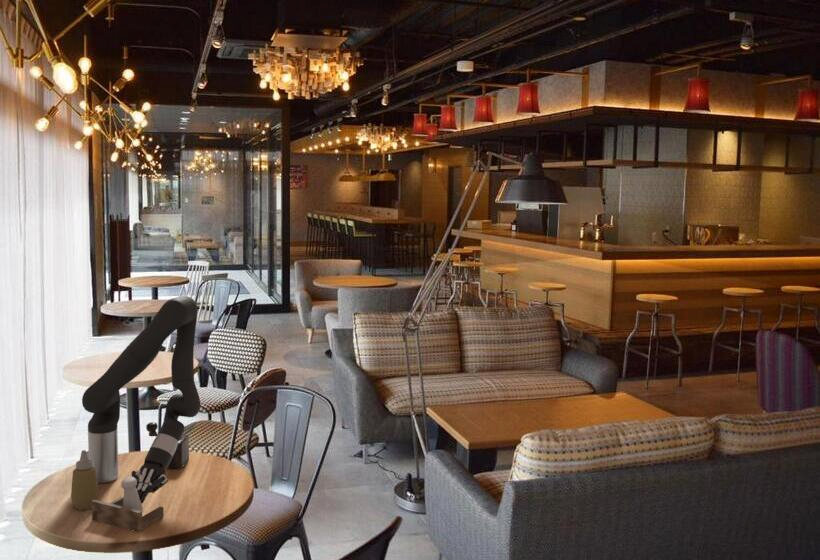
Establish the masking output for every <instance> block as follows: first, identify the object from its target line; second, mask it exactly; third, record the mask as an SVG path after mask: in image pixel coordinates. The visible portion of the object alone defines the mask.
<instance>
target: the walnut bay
mask: <svg viewBox="0 0 820 560" xmlns="http://www.w3.org/2000/svg"><path fill="white" fill-rule="evenodd" d="M123 500H124V496H120V497H118V498H116V499H115V500H113V501H111V502H105V501H102V500H98V499H97V500H93V501H92V508H91V521H93V522H94V521H95V522H97V523H100V524H101V523H102V524H107V525H109V526H114V527H116V526H117V527H118V528H121V529H124V530H128V529H129V530H128V531H132V530H134V531H133V532H135V531H137V532H136V533H139V532H140V533H141V532H143V529H145V528H146V526H147V527H149V526H150V525H151V524H154V523H155V522H157V521H158V520H160V519H162V518H163V517H164V506H162V505H161V506H158V507H157V508H155V509H153V510H152V511H150V512H148V513H146V514H144V515H143V511H139V510H135V509H131V508H127V507H123Z"/></svg>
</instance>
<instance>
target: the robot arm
mask: <svg viewBox="0 0 820 560" xmlns="http://www.w3.org/2000/svg"><path fill="white" fill-rule="evenodd" d="M197 322H198V305H197V302H196V301H195V300H194V299H193V298H192V297H191V296H188V295H181V296H177V297H174V298H169V300H167V301H166V302H164V303H163V305H161V307H160V308H159V310H158V311H157V312H156V314H155V315H154V316H153V319H152V320H151V321H150V322H149V324H148V325H147V326H146V327H145V328H144V329H143V330H142V331H141V332H140V333H139V334H137V336H136V337H135V338H134V339H133V340H132V341H131V342H130V343H129V344H128V345H127V346H126V347H125V349H123V351H122V352H121V353H120V354H119V355H118V357H117V358H116V359H115V360H114V362H112V364H111V365H110V366H109V367H108V369H107V370H106V371H105V372H104V373H103V375H101V376H100V377H99V378H98V379H97V380H96V381H95V382H93V383H92V384H91V385H89V387H87V389H85V391H84V393H83V394H82V399H81V404H82V407H83V409H84V410H85V411H86V412H88V413H90V414H93V415H92V416H91V418H90V420H89V421H88V422H87V441H88V442H87V445H88V446H87V447H88V450H87V451H86V453H87V457H88V460H91V461H92V467H94V468H95V470H96V477H97V484H105V483H109V482H113V481H115V480H117V479H118V478H119V447H118V445H119V444H118V443H119V441H118V440H119V439H118V435H119V434H118V423H119V421H120V414H121V394H120V391H121V389H122V388H124V386H126V385H127V384H129V383H130V382H132V380H134V379H135V378H136V377H138V376H139V375H141V373H143V372H144V371H145V370H146V369H147V368H148V367H149V366H150V365H151V363H153V361H154V360H155V359H156V358H157V356H158V354H159V353H160V350H161V347H162V346H163V344H164V342H165V341H166V340H167V338H168V337H169V336H170V335H172V334H173V333H174V332H175V331H176V339H175V343H174V344H175V345H174V350H173V353H172V356H171V357H172V358H171V365H170V367H171V385H172V387H173V388H174V389H176V390H178V391H180V392H181V393H176V394H175V393H174V394H173V395H171V396H170V398H169V399H168V400H167V403H166V407H165V412H164V417H163V423H162V424H161V426H160V429H159V430H158V432H157V434H158V435H157V436H155V438H154V439H153V441H152V444H151V445H150V447H149V450H148V451H147V454H146V455H145V458H144V461H143V462H144V463H143V465H141V467H140V468H139V470H136V471H135V470H132V471H131V477H134V478H135V479H136V480H137V485H136V486H135V487H136V490H137V493H138V495H139V498H140V501H141V504H142V505H143V503H144V502H145V500H146V498H147V496H148V494H150V493H151V494H154V493H156V491H158V490H159V489H160V488H162V487H163V486H165V485H166V484H167V483H168V482H169V479H168V478H167V477H166V476H165V474H166V470H168V469H167V468H168V466H169V464H170V462H171V459H172V457H173V455H174V453H175V451H176V448H177V445H178V442H179V440H180V438H181V436H182V435H184V434H183V433H184V431H185V428H186V427H185V425H184V423H182V421H179V417H184V418H185V417H186V418H194V417H195V416H197V415H198V413H199V412H200V410H201V399H200V395H199V392H198V389H197V385H196V383H195V371H194V370H195V368H194V367H195V366H194V364H195V363H194V355H195V354H194V352H195V351H194V349H195V336H196V330H197V329H196V327H197Z"/></svg>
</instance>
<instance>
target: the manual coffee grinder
mask: <svg viewBox="0 0 820 560" xmlns="http://www.w3.org/2000/svg"><path fill="white" fill-rule="evenodd" d="M145 427H146V431H147V432H148V436H149V437H156V436H157V435H158V432H157V429H158V428H159V426H158V423H157V422H149V423H147V424H146V425H145ZM189 452H190V435H189V434H182V436H181V438H180V440H179V442H178V445H177V448H176V451H175V453H174V455H173V457H172V459H171V462H170V464H169V466H168V468H167V469H166V470H181V469H182V468H183V467H184V466H185V465H186V464H187V462H188V461H189V460H190V453H189ZM185 463H186V464H185ZM184 464H185V465H184ZM183 465H184V466H183Z"/></svg>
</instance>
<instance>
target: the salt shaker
mask: <svg viewBox="0 0 820 560" xmlns="http://www.w3.org/2000/svg"><path fill="white" fill-rule="evenodd" d="M136 485H137V480H136V479H135V478H134V477H132V476H129V477H125V478H123V479H122V480H121V488H122V489H123V497H124V500H123V507H127V508H131V509H135V510H139V511H142V512H143V510H144V507H143V503H142V504H141V501H140V498H139V495H138V493H137V489H136V487H135V486H136Z"/></svg>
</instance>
